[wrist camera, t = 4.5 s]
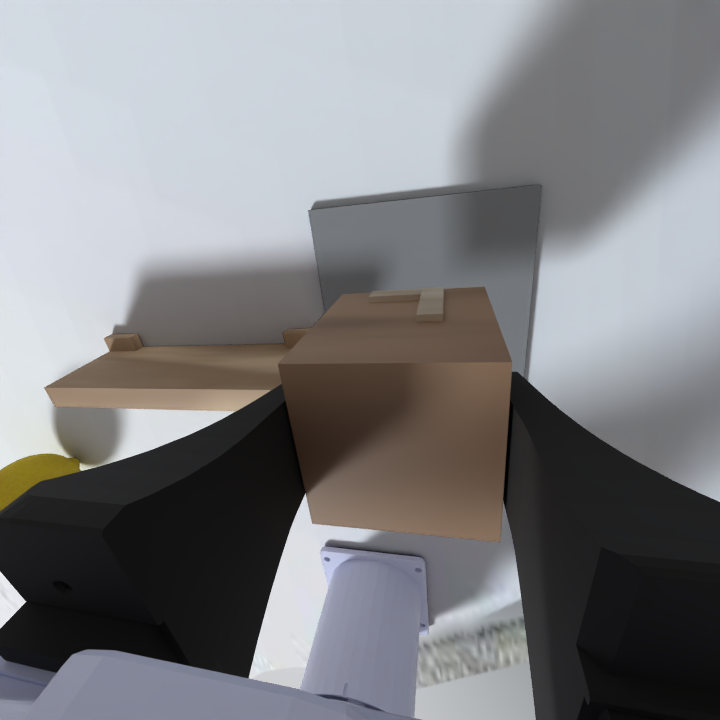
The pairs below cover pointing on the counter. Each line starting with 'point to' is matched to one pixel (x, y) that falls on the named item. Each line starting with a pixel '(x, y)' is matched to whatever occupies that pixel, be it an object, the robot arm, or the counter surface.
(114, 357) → the screen
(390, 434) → the letter block
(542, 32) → the counter surface
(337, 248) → the mat
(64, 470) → the lemon
